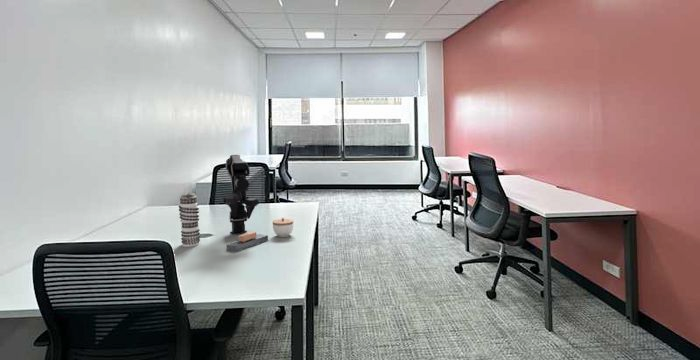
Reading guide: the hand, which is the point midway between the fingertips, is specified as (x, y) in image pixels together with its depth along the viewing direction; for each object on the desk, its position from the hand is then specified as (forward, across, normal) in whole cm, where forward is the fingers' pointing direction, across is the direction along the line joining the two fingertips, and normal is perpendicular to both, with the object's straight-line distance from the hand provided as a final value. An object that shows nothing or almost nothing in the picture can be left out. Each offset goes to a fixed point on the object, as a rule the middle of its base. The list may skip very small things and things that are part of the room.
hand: (241, 217), depth 212 cm
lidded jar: (+12, +13, +16) cm, 24 cm away
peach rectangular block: (+11, +9, -6) cm, 15 cm away
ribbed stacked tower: (+12, -17, -17) cm, 27 cm away
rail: (+11, +9, -6) cm, 15 cm away
